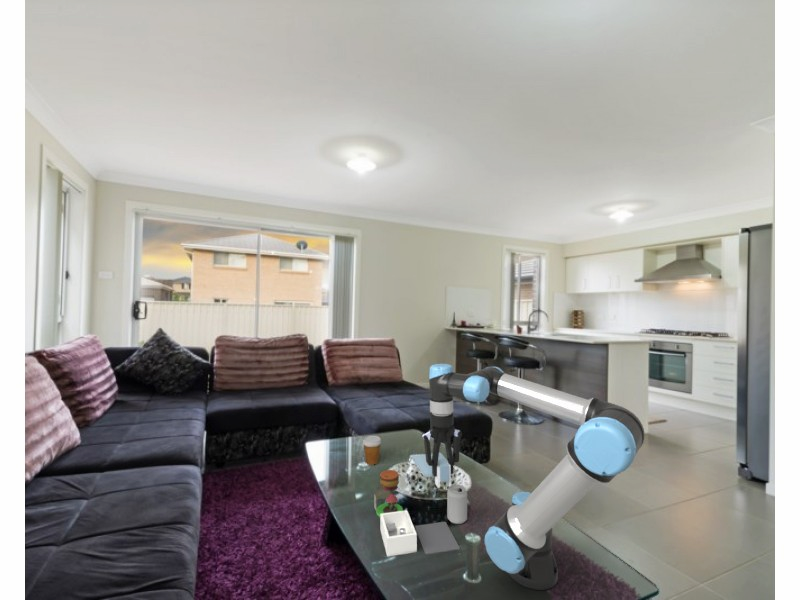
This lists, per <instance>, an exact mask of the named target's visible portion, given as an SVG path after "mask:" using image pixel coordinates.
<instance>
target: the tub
mask: <svg viewBox="0 0 800 600" xmlns="http://www.w3.org/2000/svg"><path fill="white" fill-rule="evenodd" d="M379 518H380V520H379V521H380V524H379V526H380V527H379V528H380V530H379V531H380V534H381V538H382V541H383V546H384V549H385V553H386V556H387V558H388V557H393V556H398V555H407V554H413V553H417V552H418V544H417V543H418V538H417V537H418V535H417V532H416V530H415V527H414V526H415V525H414V524H413V522H412V519H411V516H410V513H409V511H408V510H403V511H398V512H390V513H382V514H380V517H379ZM391 523H395V525H396V528H397V536H390V537H389V535H388V531H387V524H391ZM400 528H405V529H406V534H404V535H400Z"/></svg>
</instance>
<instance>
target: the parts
mask: <svg viewBox="0 0 800 600" xmlns="http://www.w3.org/2000/svg"><path fill="white" fill-rule="evenodd" d="M387 531H388V535H389V537H390V536H397V528H396V525H395V523H391V524H387ZM404 534H406V529H405V528H400V535H404Z"/></svg>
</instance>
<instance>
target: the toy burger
mask: <svg viewBox="0 0 800 600" xmlns="http://www.w3.org/2000/svg"><path fill="white" fill-rule="evenodd" d="M399 475H400V474H399V471H397V470H395V469H394V470H393V469H385V470H382V472H380V474H379V479H380V480H379V484H380V485H379V486H377V487H376V488H375V489H374V491H373V505H374V510H375V513H376V516H378V517H379V518H380V514H382V513H390V512H398V511H404V508H403V506H401V505H400V504H399V503H397V502H398V500H399V499H398V497H397V496H396V495H395V494H394V493H393V491H396V490H397V489H398V488H399V487H398V485H399V484H400V478H399V477H400V476H399ZM381 499H385V501H386V502H384V503H381V504H380V505H378V506H377V502H378V501H379V500H381Z"/></svg>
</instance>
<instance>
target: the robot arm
mask: <svg viewBox="0 0 800 600" xmlns="http://www.w3.org/2000/svg"><path fill="white" fill-rule="evenodd" d="M428 377H429V378H428V382H429V412H430V414H429V421H430V423H429V425H430V427H429V429H428V431H427V432H426V433H424V432H423V433H422V434H421V437H422V439H423V442H424V451H425V452H424V453H425V455H426V462H427V463H428V465H429V466H432V474H433V476H432V477H434V484H435V485H436V487H437V489H440V488H441V482H440V467H439V466H438V457H439V452H440V447H441V446H442V443H444V447H445V453H446V460H447V461H448V462H447V463H448V465H449V481H445V483H446V484H447V486H449V487H450V486H451V485H452V475H454V473H453V468H454V466H455V464H456V463H459V462H460V451H461V450H460V448H461V438H462V435H463V432H462V431H461V430H460V429H459V428H458V429H456V428H455V426H454V398H456V399H461V400H464V401H469V402H477V403H483V402H485V401H486V400H487V398H488V397H489V395H490V394H493V395H495V396H498V397H501V398H504V399H507V400H509V401H512V402H515V403H518V404H520V405H523V406H526V407H528V408H531V409H533V410H537V411H539V412H541V413H544V414H546V415H549V416H553V417H554V418H558V419H560V420H563V421H566V422H568V423H571V424H574V425H577V426H579V428H578V429H577V431H576V433H575V435H574V436H573V437H572V438H571V439H570V440H569V441H568V442H567V444H566V452H567V454H566V455H565V456H564V457H563V459H561V460H560V462H559V463H558V464H557V465H556V466H555V467H554V468H553V469H552V470H551V472H549V474H547V476H546V477H545V478H544V479H543V480H542V481H541V482H540V483H539V485H538V486H537V487H535V489H534V490H533V491H532V492H530V491H517V492H515V493H514V494H512V499H511V502H512V503H511V506H510V507H509V508H508V509H507V510H506V511H505V512H504V514H502V516H501V517H500V518H499V519H498V520H497V521H496V522H495V523H494V524H492V525H491V526H490V527H488V530H487V532H485V536H484V545H485V550H486V553H487V554H488V556H489V558H490V559H491V561H492V562H493V564H495V566H497V567H498V568H499V569H500V570H502V571H504V572H506V573H508V575H509V576H510V578H511V579H513V580H514V581H515V582H516V583H518V584H519V585H521V586H523V587H525V588H528V589H531V590H539V591H543V590H549V589H551V588H553V587H555V586H556V584H557V583H558V580H559V570H558V565H557V562H556V559H555V555H554V553H553V527H554V526H556V525H557V523H558V522H559V521H561V520H562V518H563V517H565V515H566V514H567V513H568V512H570V510H572V509H573V508H574V506H575V505H577V503H579V502H580V501H581V499H583V498H584V497H585V496H586V495H587V493H589V492H590V491H591V490H592V489H593V488H594V487H595V486H596V485H597V484H598V483H600V484H608V483H610V482H611V481H612V480H613V479H615V477H617V476H618V475H619V474H622V473H623V472H625V471H626V470H627V469H628V468H629V467H630V466H631V465H632V464H633V462H634V460H635V457H636V456H637V453H638V452H639V450H640V449H641V448H642V446H643V444H644V441H645V428H644V425H643V424H642V422H641V420H640V419H639V417H638V416H636V414H634V413H633V412H632V411H630V410H629V409H627V408H626V407H624V406H620V405H618V404H615V403H612V402H609V401H605V400H602V399H598V398H596V397H592V398H591V397H590V398H589V399H588V398H587V399H586V398H583V397H580V396H578V395H574V394H570V393H568V392H565V391H562V390H558V389H557V388H556V389H555V388H552V387H549V386H547V385H543V384H541V383H536V382H533V381H530V380H527V379H524V378H520V377H518V376H515V375H511V374H508V373H505V372H504V371H503V370H502V369H501V368H500V367H498V366H487V367H485V368H482V369H480V370H476V371H473V372H470V373H468V374H467V373H457V372H454V369H453V366H452V365H451V364H448V363H435V364H432V365H430V367H429V376H428ZM452 436H453V447H452V441H451V439H452ZM431 437H432V439H433V447H432V451H431V442H430V440H431ZM452 448H453V449H452ZM431 453H433V454H432V458H431Z"/></svg>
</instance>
